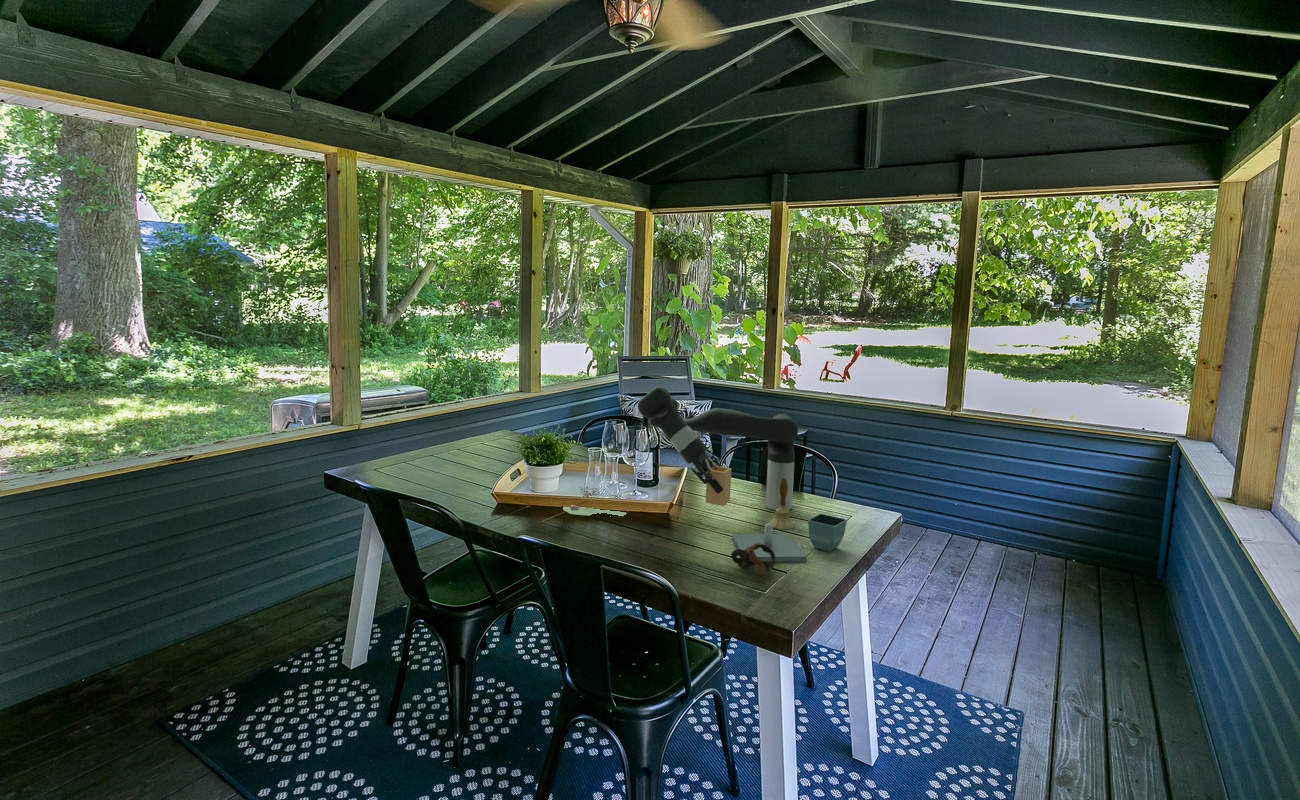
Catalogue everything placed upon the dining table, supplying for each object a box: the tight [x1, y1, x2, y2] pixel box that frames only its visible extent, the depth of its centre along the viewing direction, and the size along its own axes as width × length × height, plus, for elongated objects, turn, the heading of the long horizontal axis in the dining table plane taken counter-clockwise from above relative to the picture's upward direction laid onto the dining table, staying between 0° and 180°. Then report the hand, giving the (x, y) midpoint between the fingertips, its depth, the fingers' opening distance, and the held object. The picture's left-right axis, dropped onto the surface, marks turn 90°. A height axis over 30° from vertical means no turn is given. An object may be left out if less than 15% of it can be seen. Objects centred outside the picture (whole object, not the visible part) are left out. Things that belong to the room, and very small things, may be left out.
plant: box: [562, 483, 628, 517], centre depth 233 cm, size 25×21×9 cm
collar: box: [705, 466, 732, 507], centre depth 197 cm, size 6×6×10 cm
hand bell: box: [769, 478, 796, 531], centre depth 218 cm, size 8×8×16 cm
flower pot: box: [807, 513, 848, 553], centre depth 199 cm, size 9×9×9 cm
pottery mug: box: [731, 543, 776, 577], centre depth 182 cm, size 12×10×8 cm
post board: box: [731, 522, 808, 563], centre depth 197 cm, size 18×18×8 cm
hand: (724, 488), depth 196 cm, fingers closed on collar, 5 cm apart
